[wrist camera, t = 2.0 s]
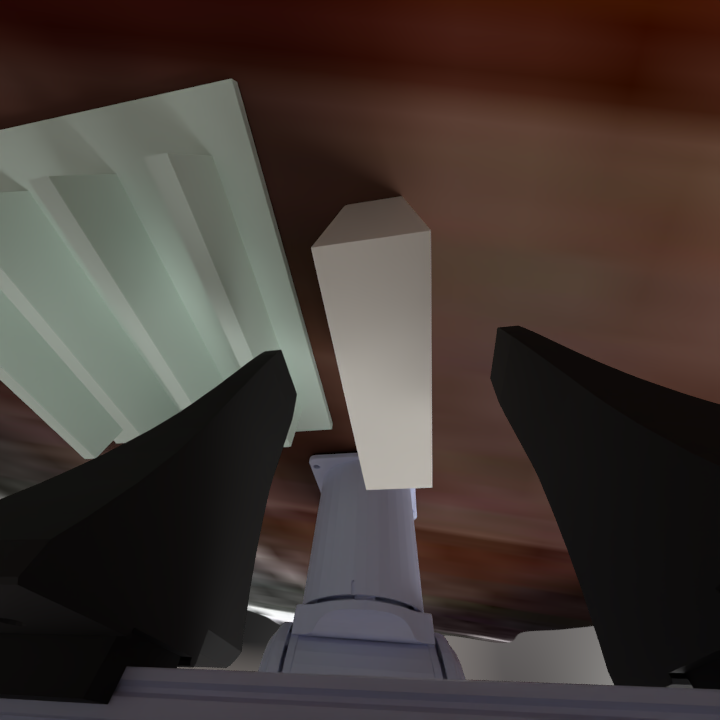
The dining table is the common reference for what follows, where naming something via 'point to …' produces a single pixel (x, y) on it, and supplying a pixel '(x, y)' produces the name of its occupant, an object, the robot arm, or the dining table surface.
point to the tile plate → (382, 335)
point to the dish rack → (142, 266)
